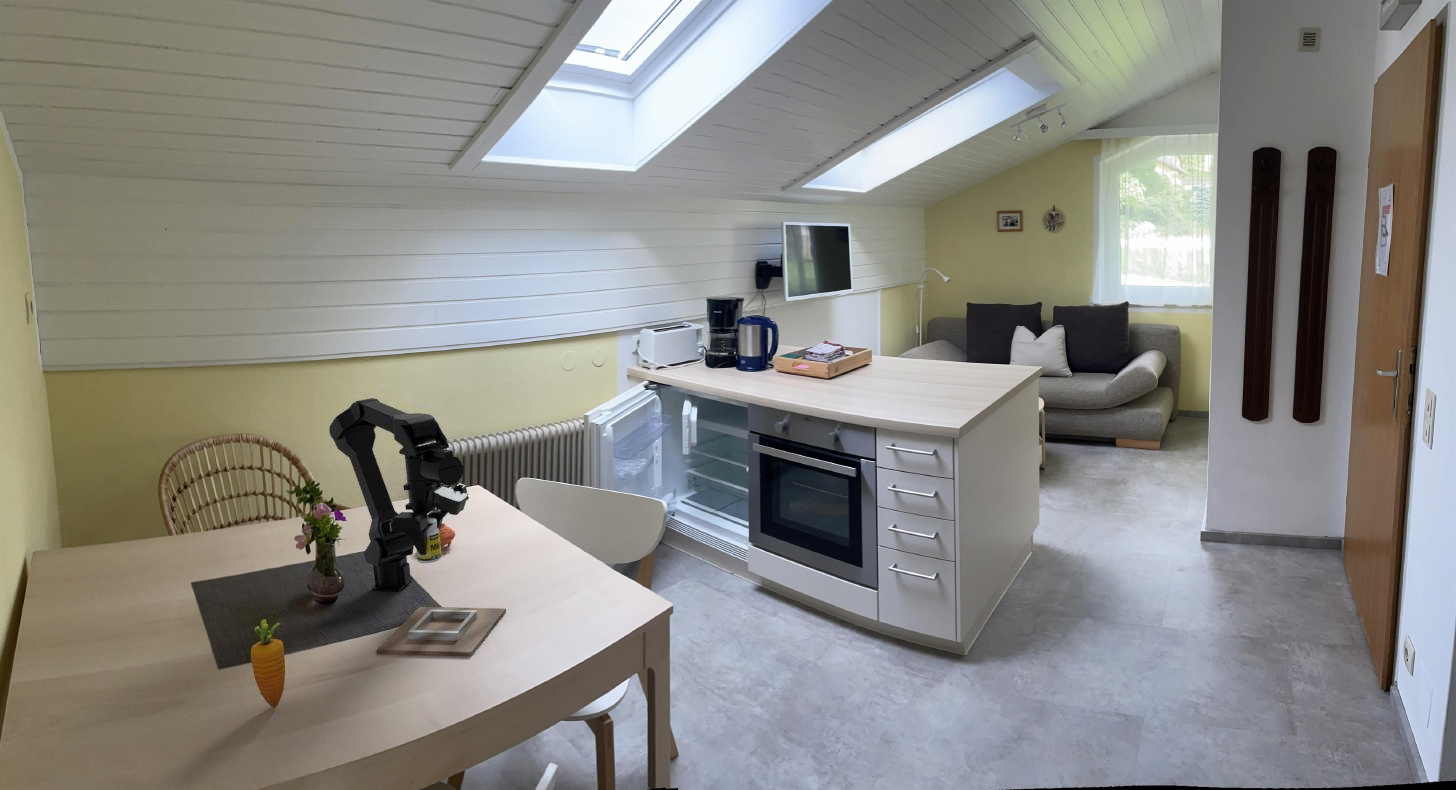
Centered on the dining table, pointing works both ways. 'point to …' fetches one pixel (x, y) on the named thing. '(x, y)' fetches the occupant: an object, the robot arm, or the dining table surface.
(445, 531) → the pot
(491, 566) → the dining table surface
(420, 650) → the board
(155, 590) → the dining table surface
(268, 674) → the carrot
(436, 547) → the supplement bottle
